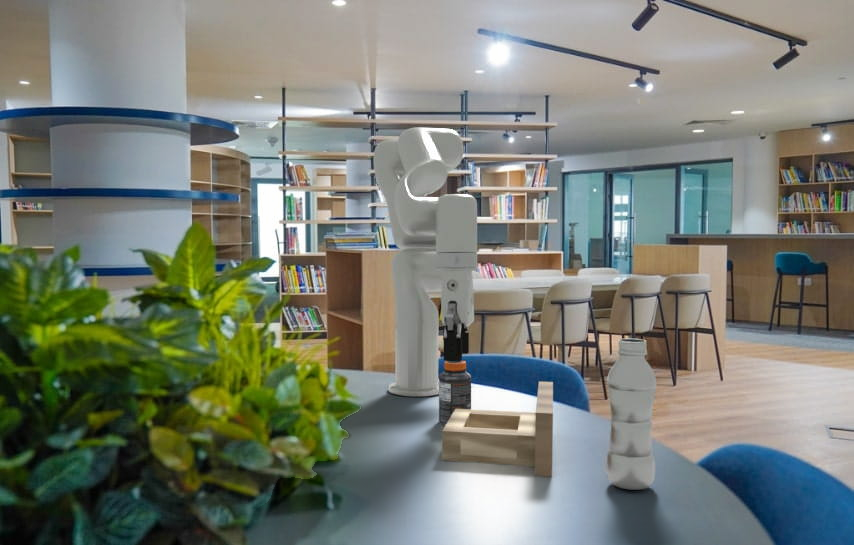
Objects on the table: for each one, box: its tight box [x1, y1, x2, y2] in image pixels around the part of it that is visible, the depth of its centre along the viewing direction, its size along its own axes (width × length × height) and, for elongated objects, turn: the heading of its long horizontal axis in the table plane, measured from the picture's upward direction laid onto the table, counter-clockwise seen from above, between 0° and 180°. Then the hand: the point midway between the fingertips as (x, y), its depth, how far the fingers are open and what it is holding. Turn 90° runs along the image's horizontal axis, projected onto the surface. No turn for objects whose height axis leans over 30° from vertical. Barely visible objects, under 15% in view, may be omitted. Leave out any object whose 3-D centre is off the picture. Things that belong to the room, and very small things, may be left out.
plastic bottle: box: [605, 338, 657, 491], centre depth 92 cm, size 6×7×20 cm
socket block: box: [441, 408, 536, 467], centre depth 108 cm, size 14×14×4 cm
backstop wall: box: [534, 381, 554, 477], centre depth 107 cm, size 22×2×9 cm, turn 169°
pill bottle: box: [438, 360, 472, 426], centre depth 124 cm, size 6×6×11 cm
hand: (456, 356), depth 123 cm, fingers open, 9 cm apart
